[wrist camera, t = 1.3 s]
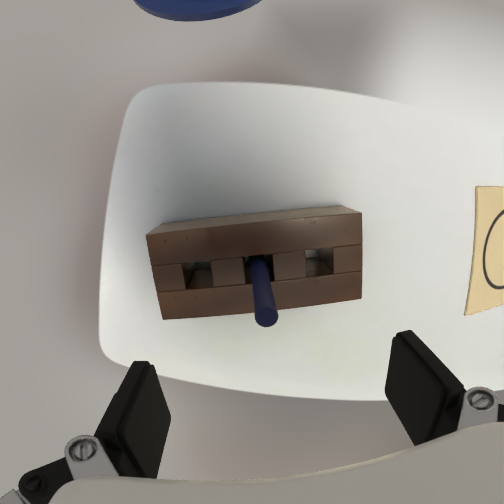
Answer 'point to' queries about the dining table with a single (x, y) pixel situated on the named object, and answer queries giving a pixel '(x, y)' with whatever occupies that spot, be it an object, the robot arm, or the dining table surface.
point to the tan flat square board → (487, 252)
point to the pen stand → (257, 243)
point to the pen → (262, 293)
